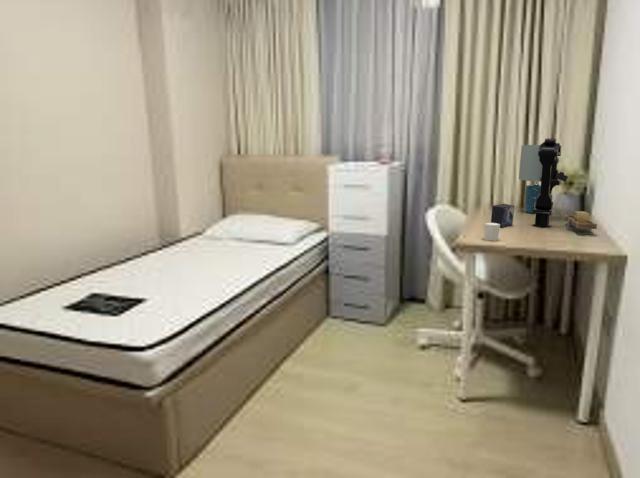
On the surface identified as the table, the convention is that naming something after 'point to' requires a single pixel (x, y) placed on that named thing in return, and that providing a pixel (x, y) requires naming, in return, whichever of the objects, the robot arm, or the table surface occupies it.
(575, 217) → the block
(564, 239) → the table surface
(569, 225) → the pivot stand
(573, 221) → the brown long shallow tray
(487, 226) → the white cup
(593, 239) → the table surface
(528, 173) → the lamp
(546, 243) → the table surface
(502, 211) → the small box
